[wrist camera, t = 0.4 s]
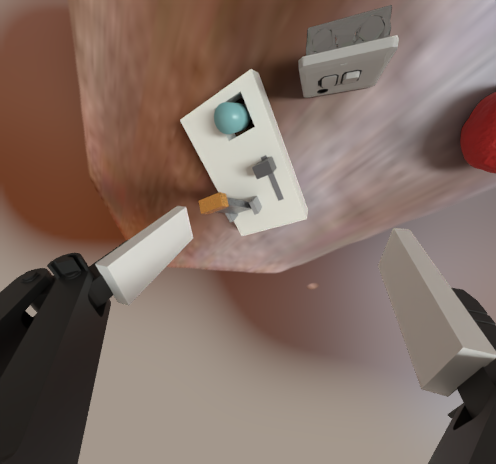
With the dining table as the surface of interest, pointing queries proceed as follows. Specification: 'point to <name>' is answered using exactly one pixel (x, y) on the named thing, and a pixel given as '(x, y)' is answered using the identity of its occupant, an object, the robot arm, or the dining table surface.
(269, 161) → the slider
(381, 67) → the electrical switch
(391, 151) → the dining table surface
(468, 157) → the pomegranate
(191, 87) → the dining table surface
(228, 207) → the lever
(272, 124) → the panel
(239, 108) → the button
